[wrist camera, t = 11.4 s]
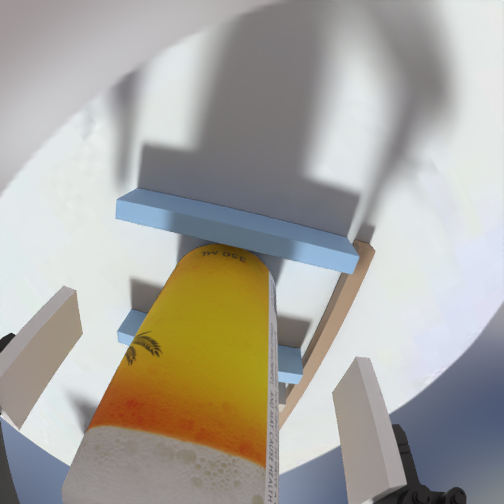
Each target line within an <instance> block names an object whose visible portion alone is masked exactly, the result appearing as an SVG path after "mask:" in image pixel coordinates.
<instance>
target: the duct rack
mask: <svg viewBox="0 0 504 504" xmlns="http://www.w3.org/2000/svg"><path fill="white" fill-rule="evenodd" d="M116 219H119V220H123V221H128V222H132V223H136V224H141V225H145V226H149V227H153V228H158V229H162V230H166V231H170V232H175V233H179V234H183V235H187V236H192V237H196V238H200V239H204V240H208V241H213V242H217V243H221V244H225V245H230V246H234V247H238V248H242V249H247V250H251V251H255V252H259V253H264V254H268V255H272V256H276V257H280V258H285V259H289V260H293V261H297V262H302V263H306V264H310V265H314V266H318V267H323V268H327V269H331V270H335V271H339V272H342V274H341V276H340V278H339V281H338V283H337V286H336V288H335V290H334V293H333V295H332V297H331V300H330V302H329V304H328V306H327V309H326V311H325V313H324V315H323V317H322V320H321V322H320V324H319V326H318V328H317V330H316V332H315V334H314V337H313V339H312V341H311V343H310V345H309V347H308V349H307V351H306V353H305V355H304V357H303V359H301V350H300V349H299V348H293V347H288V346H282V345H278V391H279V430H280V429H281V427H282V426H283V424H284V423H285V421H286V420H287V418H288V417H289V415H290V414H291V412H292V410H293V409H294V407H295V406H296V404H297V403H298V401H299V399H300V398H301V396H302V395H303V393H304V391H305V390H306V388H307V386H308V385H309V383H310V381H311V380H312V378H313V376H314V375H315V373H316V371H317V370H318V368H319V366H320V364H321V363H322V361H323V359H324V357H325V355H326V354H327V352H328V350H329V348H330V346H331V344H332V343H333V341H334V339H335V337H336V335H337V333H338V331H339V329H340V327H341V325H342V323H343V321H344V319H345V317H346V315H347V313H348V311H349V309H350V307H351V305H352V303H353V301H354V299H355V297H356V295H357V292H358V290H359V288H360V286H361V284H362V281H363V279H364V277H365V275H366V272H367V270H368V268H369V266H370V263H371V261H372V258H373V256H374V254H375V250H374V249H373V247H372V246H371V245H370V244H368V243H365V242H361V241H358V240H355V241H354V243H353V246H352V244H351V243H350V241H349V240H348V238H347V237H343V236H339V235H336V234H332V233H328V232H325V231H321V230H317V229H313V228H310V227H306V226H302V225H298V224H294V223H290V222H286V221H282V220H278V219H274V218H270V217H266V216H262V215H258V214H254V213H250V212H245V211H241V210H237V209H233V208H228V207H224V206H219V205H215V204H211V203H206V202H202V201H197V200H192V199H188V198H183V197H178V196H174V195H169V194H164V193H159V192H154V191H149V190H144V189H139V188H137V189H135V190H133V191H131V192H129V193H128V194H126V195H124V196H122V197H120V198H118V199H117V203H116ZM146 316H147V313H144V312H140V311H137V310H134V309H131V311H130V312H129V314H128V315H127V317H126V319H125V320H124V322H123V323H122V325H121V326H120V328H119V329H118V331H117V332H118V342H120V343H123V344H125V345H128V346H130V344H131V342H132V341H133V339H134V337H135V335H136V333H137V332H138V330H139V328H140V326H141V325H142V323H143V321H144V319H145V318H146ZM285 383H290V384H289V386H288V388H287V389H286V387H285Z"/></svg>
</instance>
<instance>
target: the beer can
mask: <svg viewBox="0 0 504 504" xmlns="http://www.w3.org/2000/svg"><path fill="white" fill-rule="evenodd" d="M61 492H62V498H63V504H279V391H278V344H277V310H276V288H275V283H274V279H273V277H272V274H271V273H270V271H269V269H268V268H267V267H266V265H265V264H264V263H263V262H262V261H261V260H260V259H259V258H258V257H257V256H255V255H254V254H252V253H251V252H249V251H247V250H245V249H242V248H238V247H234V246H230V245H225V244H209V245H204V246H201V247H198V248H196V249H194V250H192V251H190V252H189V253H187V254H186V255H185V256H184V257H183V258H182V259H181V260H180V261H179V263H178V264H177V265H176V267H175V269H174V270H173V272H172V274H171V275H170V277H169V279H168V280H167V282H166V284H165V285H164V287H163V289H162V290H161V292H160V294H159V295H158V297H157V299H156V300H155V302H154V304H153V305H152V307H151V309H150V311H149V312H148V314H147V316H146V318H145V319H144V321H143V323H142V325H141V326H140V328H139V330H138V332H137V333H136V335H135V337H134V339H133V341H132V342H131V344H130V346H129V348H128V350H127V352H126V353H125V355H124V357H123V359H122V361H121V363H120V365H119V367H118V368H117V370H116V372H115V374H114V376H113V378H112V380H111V382H110V384H109V386H108V388H107V390H106V392H105V394H104V396H103V398H102V400H101V402H100V404H99V406H98V408H97V410H96V412H95V414H94V416H93V418H92V420H91V422H90V424H89V426H88V429H87V431H86V433H85V435H84V437H83V439H82V442H81V444H80V446H79V448H78V450H77V453H76V455H75V457H74V460H73V462H72V464H71V467H70V469H69V472H68V474H67V477H66V479H65V481H64V484H63V486H62V489H61Z"/></svg>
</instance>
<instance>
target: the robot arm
mask: <svg viewBox="0 0 504 504" xmlns="http://www.w3.org/2000/svg"><path fill="white" fill-rule="evenodd" d="M82 334H83V332H82V326H81V320H80V314H79V308H78V301H77V293H76V290H74V289H71V288H69V287H66V286H63V287H62V288H61V289H60V290H59V291H58V292H57V293H56V294H55V295H54V296H53V297H52V298H51V299H50V300H49V301H48V302H47V303H46V304H45V305H44V306H43V307H42V308H41V309H40V310H39V311H38V312H37V313H36V314H35V315H34V316H33V317H32V318H31V319H30V320H29V322H28V323H27V324H26V325H25V326H24V327H23V328H22V329H21V330H20V331H19V332H18V334H17V335H15V334H13V333H10V334H8V335H6V336H4V337H3V338H2V339H1V340H0V415H2V416H3V417H4V419H5V420H6V421H7V422H8V423H10V424H11V425H12V426H14V427H15V428H17V429H18V430H20V428H21V427H22V425H23V423H24V421H25V420H26V418H27V416H28V415H29V413H30V411H31V410H32V408H33V406H34V405H35V403H36V402H37V400H38V398H39V397H40V395H41V394H42V392H43V391H44V389H45V387H46V386H47V384H48V383H49V381H50V380H51V378H52V377H53V375H54V374H55V372H56V371H57V369H58V368H59V366H60V365H61V363H62V362H63V361H64V359H65V358H66V356H67V355H68V353H69V352H70V351H71V349H72V348H73V346H74V345H75V344H76V342H77V341H78V340H79V338H80V337H81V335H82ZM332 395H333V401H334V406H335V412H336V418H337V424H338V430H339V436H340V443H341V449H342V456H343V463H344V470H345V478H346V486H347V495H348V503H349V504H373V503H374V504H466V494H465V492H464V491H463V490H462V489H461V488H459V487H454V488H452V489H450V490H449V491H447V492H433V491H430V490H429V489H428V488H427V487H426V486H425V485H421V484H420V482H419V480H418V476H417V472H416V469H415V465H414V461H413V458H412V454H411V453H410V448H409V445H408V441H407V437H406V434H405V432H404V431H403V430H402V428H401V427H400V425H399V424H394V425H391V422H390V418H389V415H388V412H387V409H386V405H385V402H384V399H383V396H382V393H381V390H380V387H379V384H378V381H377V378H376V375H375V372H374V369H373V366H372V363H371V360H370V358H363V357H355V359H354V361H353V362H352V364H351V365H350V367H349V368H348V370H347V371H346V373H345V375H344V376H343V378H342V379H341V381H340V382H339V383H338V385H337V386H336V388H335V389H334V391H333V392H332ZM0 504H20V503H19V500H18V497H17V493H16V490H15V487H14V484H13V480H12V477H11V473H10V469H9V465H8V460H7V456H6V451H5V446H4V440H3V435H2V429H1V422H0Z"/></svg>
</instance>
